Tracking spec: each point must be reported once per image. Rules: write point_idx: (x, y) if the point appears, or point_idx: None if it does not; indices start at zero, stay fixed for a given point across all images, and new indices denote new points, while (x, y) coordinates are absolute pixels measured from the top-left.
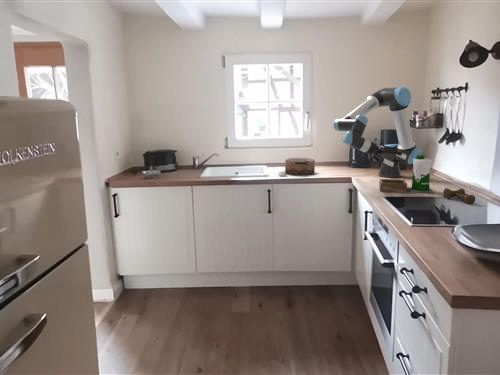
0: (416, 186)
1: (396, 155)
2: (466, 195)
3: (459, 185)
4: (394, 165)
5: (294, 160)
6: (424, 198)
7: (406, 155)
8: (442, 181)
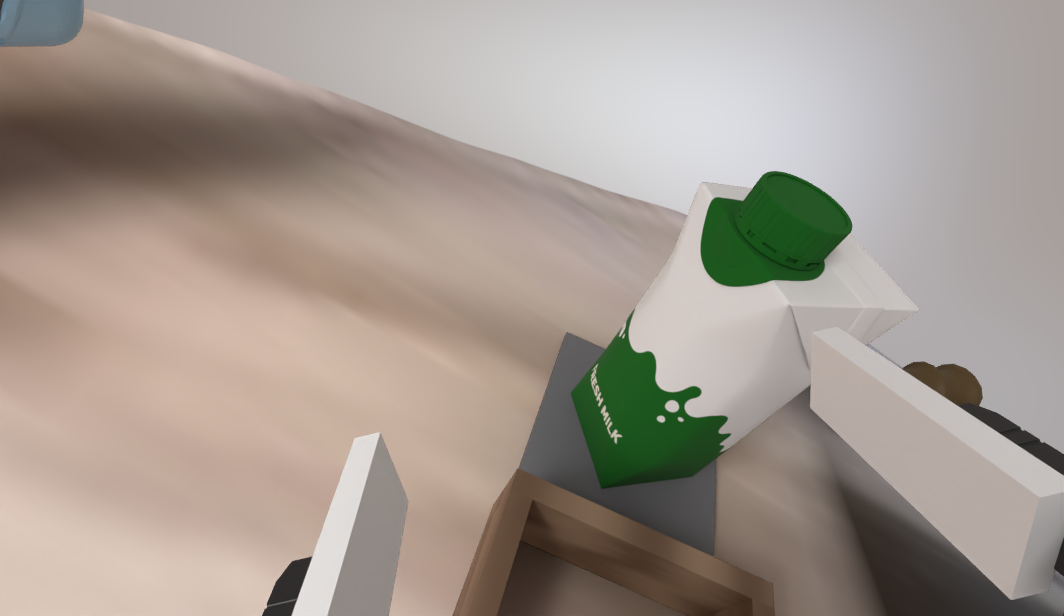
0: (686, 471)
1: (986, 561)
2: (953, 385)
3: (460, 145)
4: None
5: None
6: (902, 575)
7: (838, 333)
8: (307, 119)
